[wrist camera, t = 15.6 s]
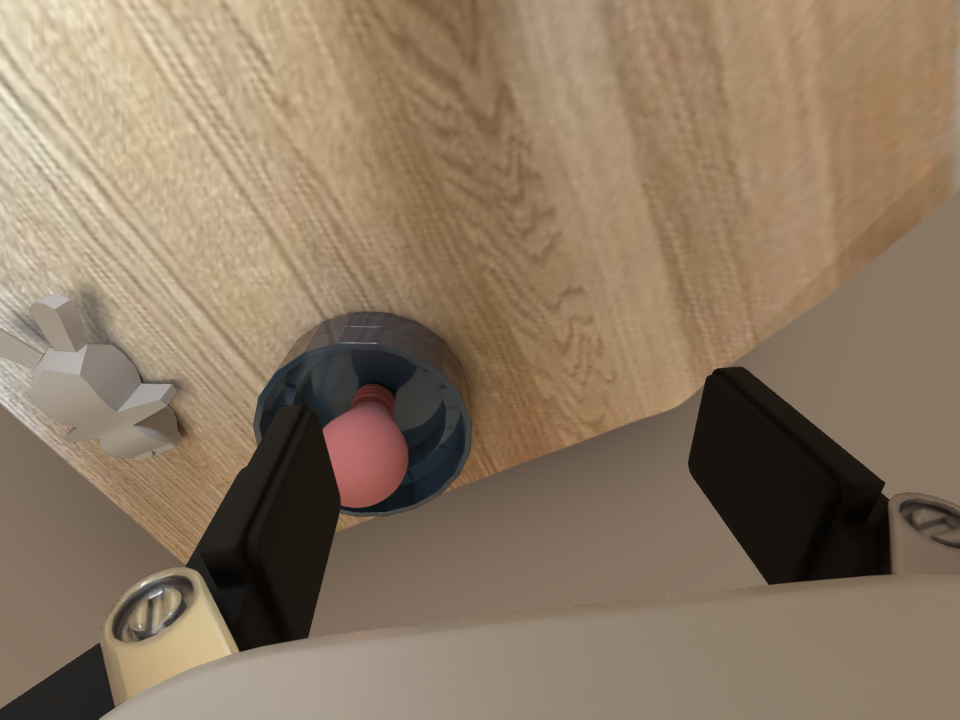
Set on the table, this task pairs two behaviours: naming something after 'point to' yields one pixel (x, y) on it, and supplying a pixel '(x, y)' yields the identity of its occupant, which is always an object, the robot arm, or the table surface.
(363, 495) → the light bulb
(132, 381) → the bunny figurine
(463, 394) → the dark grey round tub
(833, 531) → the robot arm
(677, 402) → the table surface
